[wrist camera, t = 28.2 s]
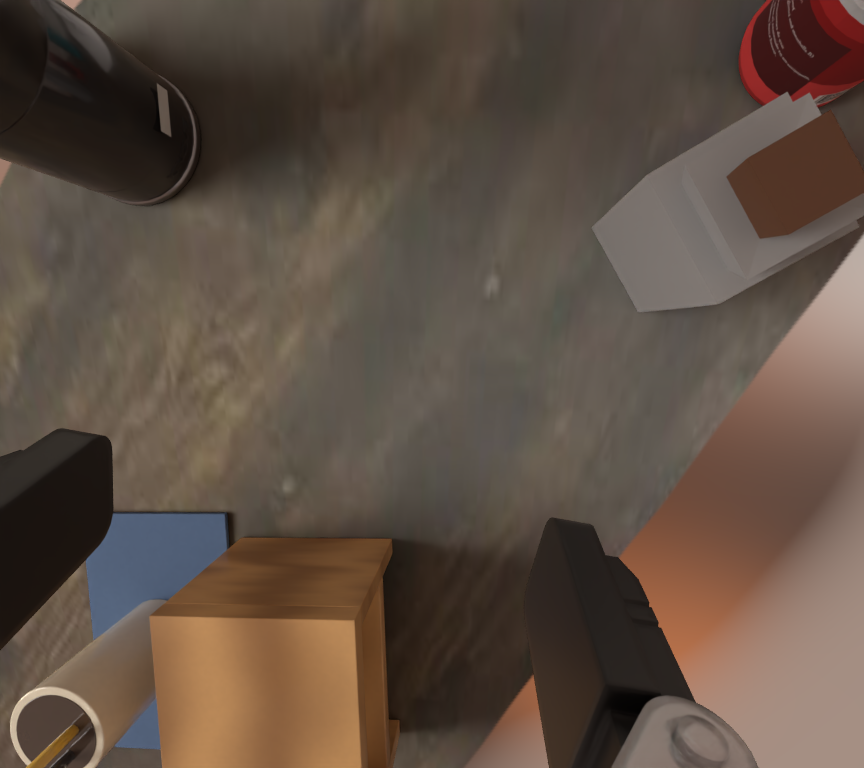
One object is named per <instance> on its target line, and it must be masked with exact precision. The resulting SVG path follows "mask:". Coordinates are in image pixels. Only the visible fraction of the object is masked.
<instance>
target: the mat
mask: <svg viewBox="0 0 864 768" xmlns="http://www.w3.org/2000/svg"><path fill="white" fill-rule="evenodd" d="M227 549H229V533H228V519H227V513H195V512H113V517H112V521H111V525H110V527H109V530H108V532H107V534H106V536H105V538H104V540H103V541H102V543H101V544H100V545H99V546H98V547H97V548H96V550H95V551H94V552H93V553H92V554H91V555H90V556H89V557H88V558H87V559H86V566H87V576H88V587H89V597H90V607H91V618H92V628H93V638H94V640H95V639H96V638H97V637H98V636H100V635H101V634H102V633H103V632H105V631H106V630H107V629H108V628H110V627H111V626H112V625H113V624H115V623H116V622H117V621H119V620H120V619H121V618H122V617H124V616H125V615H126V614H127V613H129V612H130V611H131V610H132V609H134V608H135V607H136V606H138V605H139V604H141V603H142V602H145V601H148V600H154V599H162V600H167V601H168V600H169V599H170V598H171V597H172V596H174V595H175V594H176V593H177V592H178V591H179V590H181V589H182V588H183V587H184V586H185V585H186V584H188V583H189V582H190V581H191V580H192V579H194V578H195V577H196V576H197V575H198V574H199V573H201V572H202V571H203V570H204V569H205V568H206V567H208V566H209V565H210V564H211V563H212V562H213V561H215V560H216V559H217V558H218V557H219V556H220V555H222V554H223V553H224V552H225V551H226V550H227ZM114 747H126V748H146V749H161V746H160V734H159V723H158V711H157V699H156V700H155V701H154V702H153V703H152V705H151V706H150V707H149V708H148V709H147V710H146V711H145V712H144V714H143V715H142V716H141V717H140V718H139V719H138V720H137V721H136V722H135V724H134V725H133V726H132V727H131V728H130V729H129V730H128V731H127V733H126V734H125V735H124V736H123V737H122V738H121V739H120V740H119V742H118V743H117V744H116V745H115V746H114Z"/></svg>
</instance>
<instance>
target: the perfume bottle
mask: <svg viewBox="0 0 864 768" xmlns="http://www.w3.org/2000/svg"><path fill="white" fill-rule="evenodd" d="M863 193H864V171H863V169H862V167H861V165H860V163H859V161H858V160H857V158H856V156H855V154H854V152H853V150H852V148H851V146H850V145H849V143H848V141H847V139H846V137H845V135H844V133H843V131H842V130H841V128H840V126H839V124H838V122H837V120H836V118H835V116H834V114H833V113H832V111H831V110H829V111H827V112H826V113H824V114H822V115H821V113H820V111H819V109H818V107H817V106H816V104H815V102H814V100H813V98H812V96H811V94H810V92H809V93H808V94H806V95H804V96H803V97H801V98H799V99H798V100H796V101H794V102H793V101H792V99H791V97H790V96H789V94H788V92H786V93H784V94H783V95H781V96H779V97H778V98H776V99H774V100H772V101H771V102H769V103H767V104H766V105H764V106H762V107H761V108H759V109H757V110H756V111H754V112H752V113H751V114H749V115H747V116H745V117H744V118H742V119H740V120H739V121H737V122H735V123H734V124H732V125H730V126H729V127H727V128H725V129H724V130H722V131H720V132H718V133H717V134H715V135H713V136H712V137H710V138H708V139H707V140H705V141H703V142H702V143H700V144H698V145H696V146H695V147H693V148H691V149H690V150H688V151H686V152H685V153H683V154H681V155H680V156H678V157H676V158H675V159H673V160H671V161H669V162H668V163H666V164H664V165H663V166H661V167H659V168H658V169H656V170H654V171H653V172H651V173H649V174H648V175H646V176H645V177H644V178H643V179H642V180H641V181H640V182H639V183H638V184H637V185H636V186H635V187H634V188H633V189H631V190H630V191H629V192H628V193H627V194H626V195H625V196H624V197H623V198H622V199H621V200H620V201H619V202H618V203H617V204H616V205H615V206H614V207H613V208H612V209H611V210H610V211H608V212H607V213H606V214H605V215H604V216H603V217H602V218H601V219H600V220H599V221H598V222H597V223H596V224H595V225H594V226H593V227H592V230H593V232H594V234H595V235H596V237H597V239H598V241H599V243H600V244H601V246H602V248H603V250H604V252H605V253H606V255H607V257H608V259H609V261H610V262H611V264H612V266H613V268H614V270H615V271H616V273H617V275H618V277H619V279H620V280H621V282H622V284H623V286H624V287H625V289H626V291H627V293H628V295H629V296H630V298H631V300H632V302H633V304H634V305H635V307H636V309H637V311H638V312H648V311H658V310H668V309H678V308H688V307H698V306H708V305H718V304H720V303H721V302H723V301H725V300H727V299H729V298H731V297H732V296H734V295H736V294H738V293H740V292H742V291H743V290H745V289H747V288H749V287H751V286H753V285H754V284H756V283H758V282H760V281H762V280H764V279H765V278H767V277H769V276H771V275H773V274H774V273H776V272H778V271H780V270H782V269H784V268H785V267H787V266H789V265H791V264H793V263H795V262H796V261H798V260H800V259H802V258H804V257H806V256H807V255H809V254H811V253H813V252H815V251H817V250H818V249H820V248H822V247H824V246H826V245H827V244H829V243H831V242H833V241H835V240H837V239H838V238H840V237H842V236H844V235H846V234H848V233H849V232H851V231H853V230H855V229H857V228H859V227H860V226H859V225H858V223H857V221H856V220H857V219H859V218H861V217H863V216H864V194H863Z"/></svg>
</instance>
